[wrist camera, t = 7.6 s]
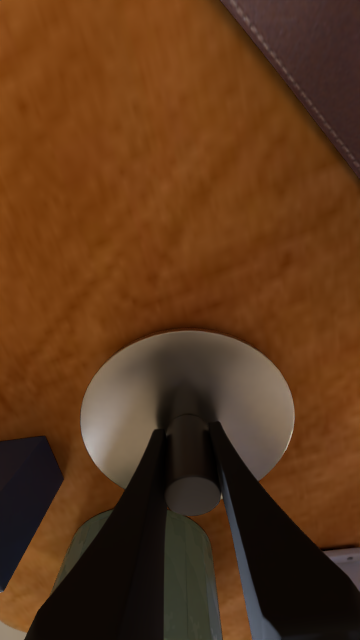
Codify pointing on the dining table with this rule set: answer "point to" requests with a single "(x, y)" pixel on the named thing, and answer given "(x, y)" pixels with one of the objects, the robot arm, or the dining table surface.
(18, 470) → the navy block
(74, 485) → the dining table surface
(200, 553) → the green bowl
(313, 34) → the letter holder
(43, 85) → the dining table surface
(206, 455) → the tin lid
